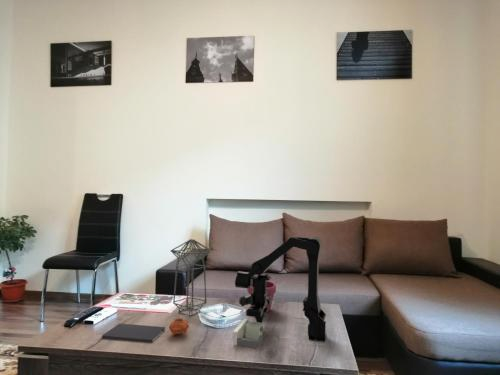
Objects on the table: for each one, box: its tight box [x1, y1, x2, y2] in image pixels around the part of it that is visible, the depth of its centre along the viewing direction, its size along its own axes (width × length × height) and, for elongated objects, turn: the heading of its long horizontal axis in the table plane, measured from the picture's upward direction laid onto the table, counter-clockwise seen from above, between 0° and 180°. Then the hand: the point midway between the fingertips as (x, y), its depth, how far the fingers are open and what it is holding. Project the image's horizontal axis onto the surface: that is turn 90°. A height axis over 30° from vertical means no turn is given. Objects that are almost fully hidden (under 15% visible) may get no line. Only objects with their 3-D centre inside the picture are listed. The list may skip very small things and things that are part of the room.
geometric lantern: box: [170, 238, 213, 317], centre depth 166 cm, size 16×16×35 cm
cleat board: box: [232, 317, 264, 350], centre depth 135 cm, size 10×14×5 cm
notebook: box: [101, 323, 166, 343], centre depth 139 cm, size 13×2×21 cm
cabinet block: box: [245, 320, 264, 340], centre depth 137 cm, size 6×5×5 cm
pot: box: [168, 317, 190, 337], centre depth 139 cm, size 8×8×7 cm
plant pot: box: [247, 280, 277, 313], centre depth 169 cm, size 14×14×13 cm
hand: (259, 326), depth 145 cm, fingers closed
